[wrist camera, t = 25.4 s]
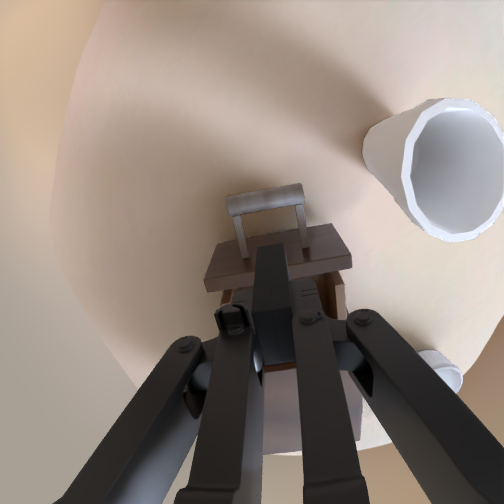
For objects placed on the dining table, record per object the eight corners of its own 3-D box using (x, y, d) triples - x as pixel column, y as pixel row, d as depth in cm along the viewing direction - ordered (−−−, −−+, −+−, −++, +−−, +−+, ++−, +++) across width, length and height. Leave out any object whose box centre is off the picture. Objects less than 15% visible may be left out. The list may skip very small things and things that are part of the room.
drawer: (204, 191, 29) (184, 213, 22) (324, 169, 28) (344, 184, 21) (245, 348, 36) (241, 397, 29) (341, 333, 35) (356, 379, 28)
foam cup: (350, 200, 30) (401, 250, 18) (340, 107, 26) (393, 96, 14) (432, 192, 29) (508, 233, 17) (426, 105, 26) (508, 104, 14)
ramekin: (458, 338, 36) (474, 361, 31) (435, 392, 40) (446, 415, 36) (391, 347, 37) (404, 373, 32) (373, 402, 41) (381, 428, 36)
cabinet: (233, 318, 36) (224, 376, 27) (343, 300, 34) (364, 355, 25) (258, 400, 41) (255, 455, 32) (347, 386, 40) (360, 440, 31)
